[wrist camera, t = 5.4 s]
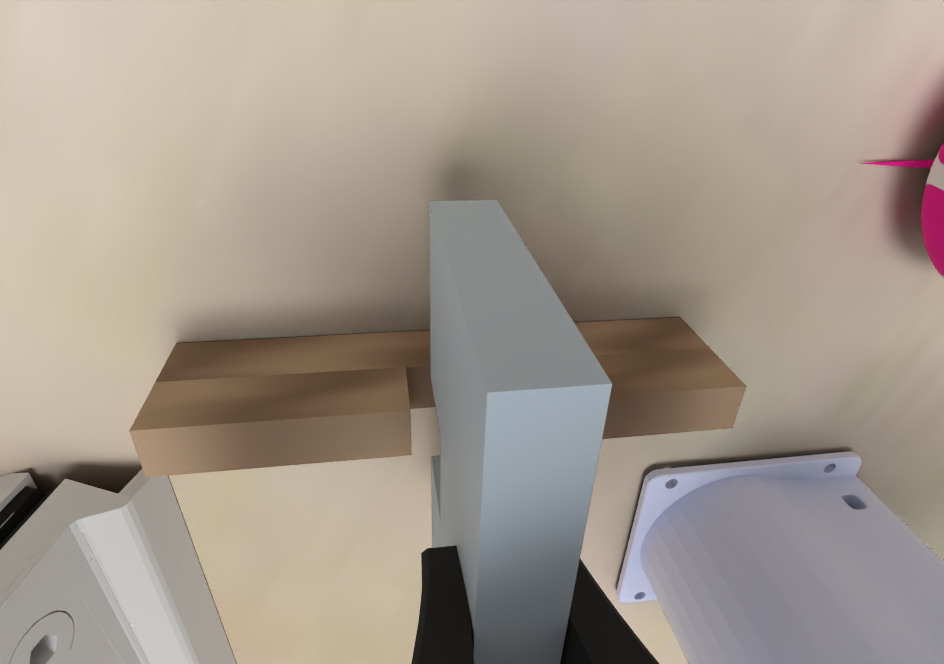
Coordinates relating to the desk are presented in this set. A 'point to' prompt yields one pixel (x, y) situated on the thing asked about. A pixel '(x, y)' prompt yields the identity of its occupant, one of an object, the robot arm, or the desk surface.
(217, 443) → the walnut plate
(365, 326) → the desk surface
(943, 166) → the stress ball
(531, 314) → the upright grey panel
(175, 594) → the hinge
